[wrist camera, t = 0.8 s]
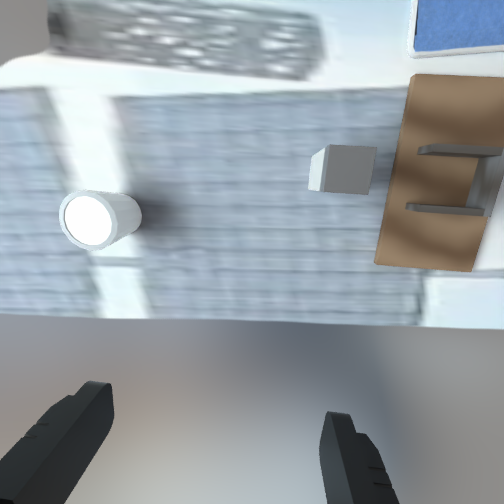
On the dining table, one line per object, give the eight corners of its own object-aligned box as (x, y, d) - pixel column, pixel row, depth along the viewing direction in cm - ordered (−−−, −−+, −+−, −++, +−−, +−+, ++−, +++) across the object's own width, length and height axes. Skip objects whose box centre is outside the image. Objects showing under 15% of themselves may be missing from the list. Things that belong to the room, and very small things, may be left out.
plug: (311, 156, 32) (329, 144, 22) (344, 158, 32) (376, 147, 22) (307, 189, 33) (323, 191, 23) (339, 191, 33) (368, 194, 23)
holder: (410, 77, 29) (432, 61, 25) (522, 82, 28) (561, 66, 24) (373, 262, 35) (386, 272, 31) (465, 269, 34) (490, 280, 30)
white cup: (156, 216, 35) (129, 224, 28) (124, 248, 37) (92, 262, 30) (119, 177, 34) (82, 176, 27) (88, 211, 36) (46, 218, 29)
